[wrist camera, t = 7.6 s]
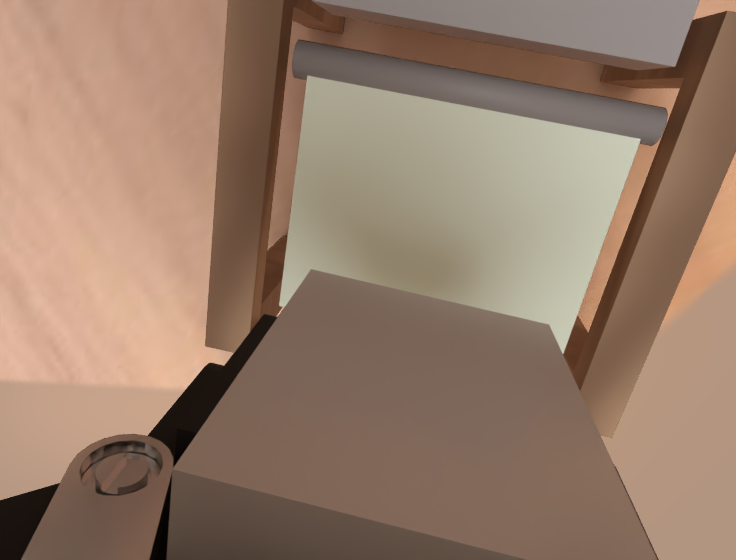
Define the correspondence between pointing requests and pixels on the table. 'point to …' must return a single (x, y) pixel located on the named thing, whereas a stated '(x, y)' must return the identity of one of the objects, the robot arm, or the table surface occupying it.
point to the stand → (636, 255)
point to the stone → (400, 442)
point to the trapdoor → (472, 154)
